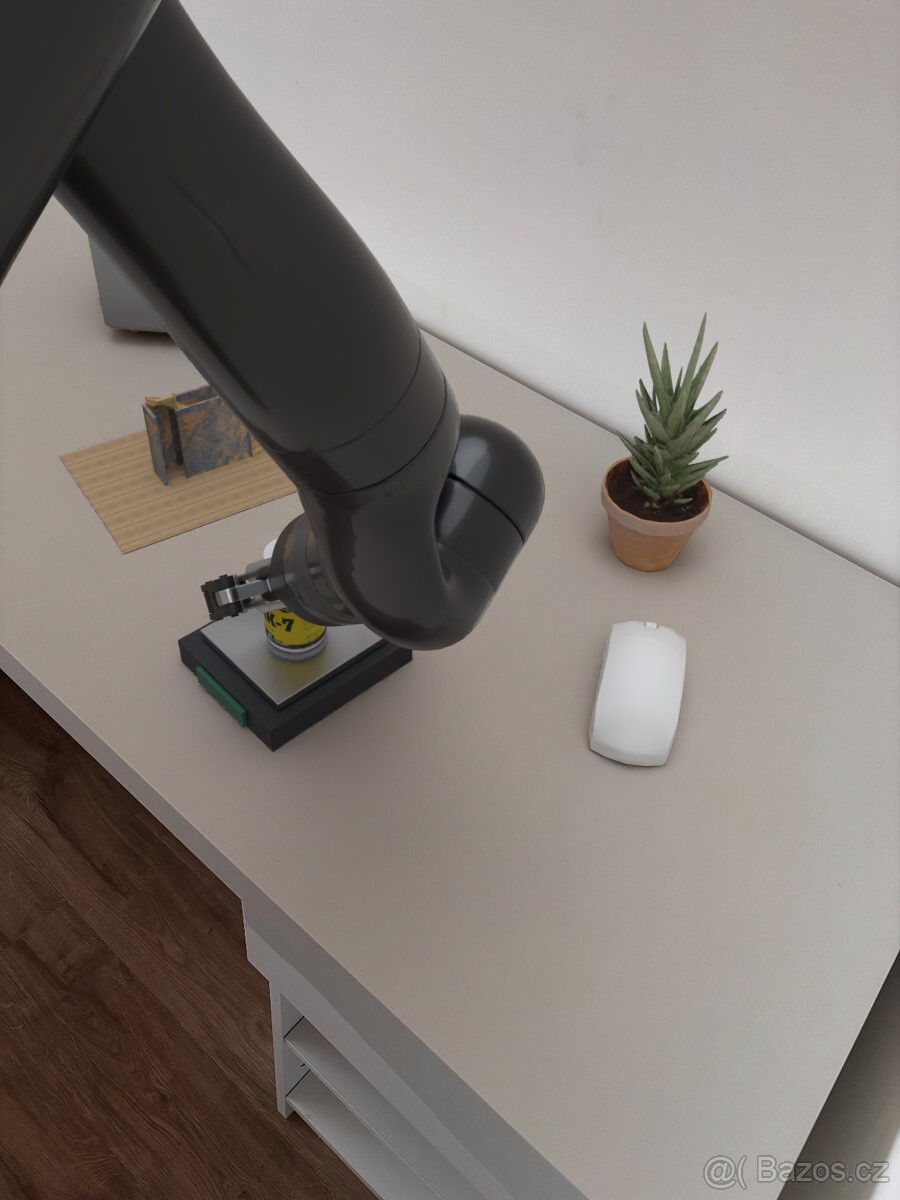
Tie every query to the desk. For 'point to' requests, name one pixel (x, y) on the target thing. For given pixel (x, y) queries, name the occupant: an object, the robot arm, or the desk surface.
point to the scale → (299, 713)
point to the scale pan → (286, 655)
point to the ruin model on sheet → (176, 470)
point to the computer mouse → (638, 694)
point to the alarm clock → (120, 298)
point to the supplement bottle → (290, 625)
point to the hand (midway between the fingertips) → (291, 579)
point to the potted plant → (663, 466)
